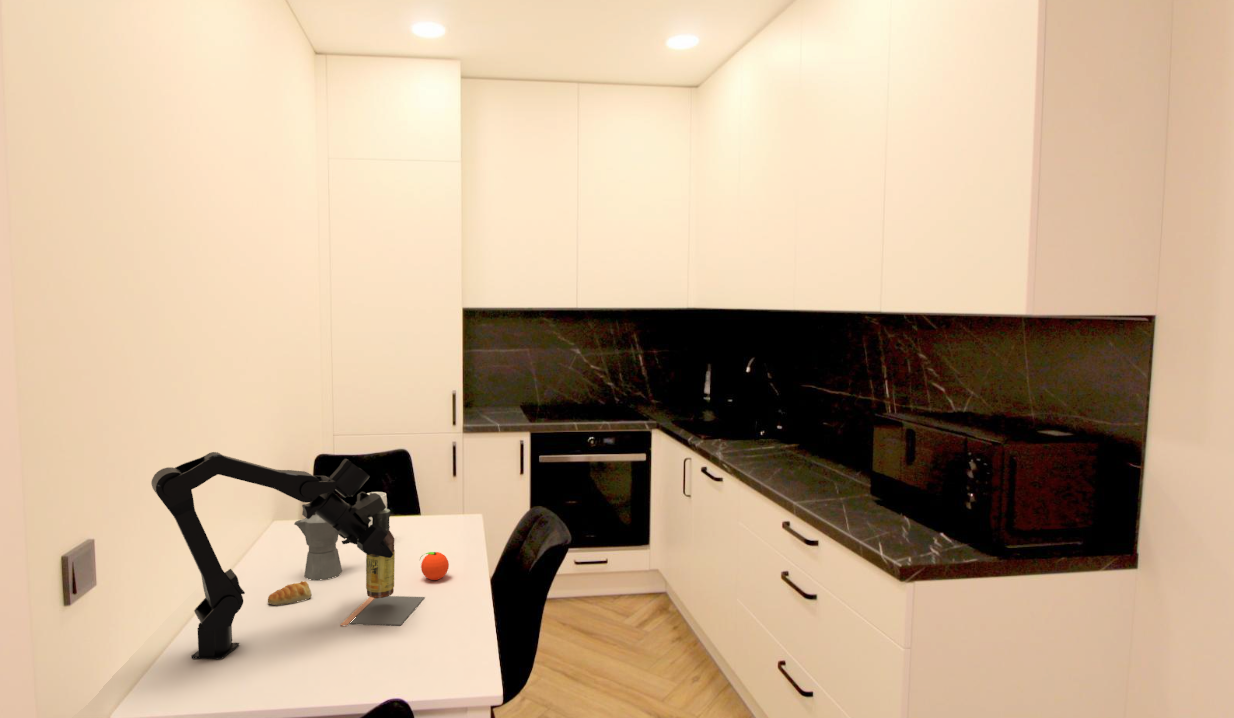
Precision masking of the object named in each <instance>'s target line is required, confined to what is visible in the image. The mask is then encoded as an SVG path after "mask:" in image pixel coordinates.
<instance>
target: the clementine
mask: <svg viewBox="0 0 1234 718" xmlns="http://www.w3.org/2000/svg"><path fill="white" fill-rule="evenodd" d="M425 555H426V556H424V554H422V555H421V556H420V558H419V560H421V559H422V557H423V556H424V558H423V559H422V561H421V564H420V568H421V573H422V575H423V576H424V577H425V578H427V579H428V580H432V581H437V580H441V579H442V578H443V577H445V575H447V572H448V571H449V567H450V564H449V560H448V558H447V556H445V554H443V553H442V552H440V551H439V552H438V551H428V552H426V553H425Z"/></svg>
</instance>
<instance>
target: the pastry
mask: <svg viewBox="0 0 1234 718" xmlns="http://www.w3.org/2000/svg"><path fill="white" fill-rule="evenodd" d="M309 598H310V599H311V598H312V590H311V588H310V585H309V583H308V582H307V581H306V580H305V581H300V582H297V583H295V582H294V583H290V584H287V585H285V586H284V587H282V588H280V589H277V590H275V591H274V592H273V593H270V594H269V596H268V598H267V603H268V604H270V605H272V606H277V605H278V606H282V605H281V604H285V605H289V604H288V603H292V604H294V603H293V602H296V603H298V602H297V601H301V600H305V599H308V600H310V599H309ZM305 601H306V600H305ZM301 602H302V601H301Z"/></svg>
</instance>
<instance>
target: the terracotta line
mask: <svg viewBox="0 0 1234 718" xmlns="http://www.w3.org/2000/svg"><path fill="white" fill-rule="evenodd" d="M374 599H375V598H372V597H369V596H368V598H367V599H366V600H364V602H362V603H361V604H360V605H359V606H358V607H357V608H356V609H355V610H354V611H353V612H352V613H351V614H350V615H349V616H348V617H347V618H346V619H344V621H343V622H341V623H340V625H348V624H349V623H350V622H351V621H352V620H353V619H354V618H355V617H357V616H358V615H359V614H360V613H361V612H362V611H363V610H364V609H365V608H366V607H367V606H368V605H369V604H370V603H371V602H372V601H373V600H374ZM349 625H350V624H349ZM349 625H348V626H349Z"/></svg>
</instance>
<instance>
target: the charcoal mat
mask: <svg viewBox="0 0 1234 718" xmlns="http://www.w3.org/2000/svg"><path fill="white" fill-rule="evenodd" d="M424 599H425V596H405V595H404V596H401V595H400V596H399V595H397V596H396V595H390V596H388V597H384V598H375V599H374V600H373V601H372V602H371V603H370V604H369V605H368V606H367V607H366V608H365V609H364V610H363V611H362V612H361V613H360V614H359V615H358V616H357V617H356V618H355V619H354V620H353V621H352V622H351V623H350V624H349V625H351V624H363V625H364V626H390V625H391V627H392V626H394V625H396V626H394V627H397V626H399V627H401V626H402V625H403V624H404V623H405V622H404V621H407V619H408V618H409V617H410V616H411V615H412V613H413V612H414V611H415V610H416V609H417V608H418V606H419V605H421V603H422V602H423V601H424ZM416 607H417V608H416ZM415 608H416V609H415ZM410 614H411V615H410ZM409 615H410V616H409Z"/></svg>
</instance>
